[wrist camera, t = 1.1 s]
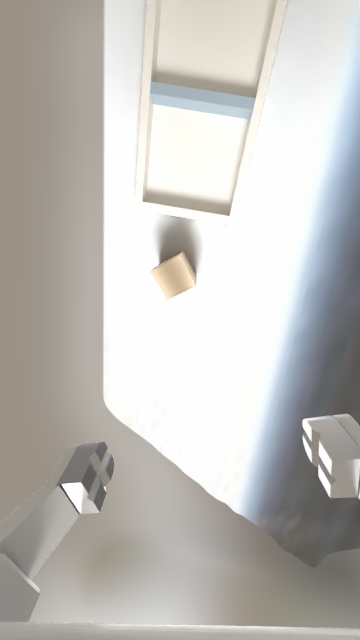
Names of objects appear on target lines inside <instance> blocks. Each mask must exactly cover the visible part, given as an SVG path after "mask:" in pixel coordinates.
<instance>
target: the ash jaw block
mask: <svg viewBox="0 0 360 640" xmlns="http://www.w3.org/2000/svg"><path fill="white" fill-rule="evenodd" d="M151 272H152V274H153V276H154V278H155V279H156V281H157V283H158V285H159V286H160V288H161V290H162V292H163V293H164V295H165V297H166V299H167V300H168V299H170V298H172V297H174V296H176V295H178V294H180V293H182V292H184V291H186V290H188V289H190V288H192V287H194V286H196V274H195V272H194V270H193V268H192V266H191V264H190V262H189V260H188V258H187V256H186V254H185V252H184V251H182V252H180V253H178V254H177V255H175V256H173V257H171V258H170V259H168V260H166V261H164V262H162V263H161V264H159V265H158V266H157V267H155V268H154V269H153V270H152V271H151Z"/></svg>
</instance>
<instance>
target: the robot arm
mask: <svg viewBox="0 0 360 640" xmlns="http://www.w3.org/2000/svg"><path fill="white" fill-rule="evenodd" d="M303 428H304V430H305V433H304V434H303V443H304V446H305V450H306V452H307V455H308V457H309V459H310V461H311V463H312V464H314V465H315V466H316V467H318V468H319V478H320V480H321V482H322V484H323V486H324V487H325V489H326V491H327V493H328V495H329V497H330V498H344V497H359V499H360V425H359V424H358V423H357V422H356V421H355V420H354V419H353V418H352V417H351V416H350V415H348V414H342V415H333V416H323V417H315V418H307V419H303ZM106 450H107V446H106V444H105V443H104V442H100V443H89V444H77V445H70V446H69V447H68V448H67V449H66V450H65V452H64V454H63V455H62V457H61V459H60V460H59V462H58V464H57V465H56V467H55V469H54V470H53V472H52V473H51V475H50V477H49V478H48V480H47V482H46V484H45V485H44V486H43V487H40V488H38V489H37V490H36V491H35V492H34V493H33V494H32V495H31V496H29V497H28V498H27V499H26V500H25V501H24V502H23V503H22V504H21V505H19V506H18V507H17V508H16V509H15V510H14V511H13V512H12V513H11V514H9V515H8V516H7V517H6V518H5V519H4V520H3V521H1V523H0V640H360V628H320V627H318V628H317V627H264V626H210V625H208V626H207V625H205V626H204V625H154V624H100V623H94V624H93V623H45V622H28V621H29V619H30V616H31V614H32V611H33V609H34V607H35V604H36V602H37V600H38V597H39V595H40V590H39V588H38V587H37V586H36V585H35V584H34V583H33V582H32V581H31V579H32V578H33V577H34V575H35V574H36V573H37V571H38V570H39V568H40V567H41V566H42V565H43V563H44V562H45V561H46V560H47V558H48V557H49V556H50V554H51V553H52V552H53V550H54V549H55V548H56V546H57V545H58V544H59V542H60V541H61V540H62V538H63V537H64V536H65V534H66V533H67V532H68V530H69V529H70V528H71V526H72V525H73V524H74V523H75V521H76V520H77V518H78V517H79V514H88V513H97V512H100V510H101V507H102V504H103V501H104V498H105V495H106V489H105V486H106V485H107V483H108V482H109V481H110V480H111V477H112V474H113V468H114V462H113V458H112V456H111V454H109V453H108V452H106Z"/></svg>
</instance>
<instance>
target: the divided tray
mask: <svg viewBox="0 0 360 640" xmlns="http://www.w3.org/2000/svg"><path fill="white" fill-rule="evenodd" d="M287 2H288V0H147V3H146V20H145V37H144V54H143V71H142V88H141V106H140V123H139V140H138V157H137V174H136V191H135V208H134V209H137V210H139V211H144V212H150V213H156V214H162V215H168V216H174V217H180V218H186V219H192V220H198V221H204V222H210V223H216V224H222V225H228V226H235V223H236V219H237V215H238V211H239V206H240V202H241V198H242V194H243V189H244V185H245V181H246V177H247V172H248V168H249V164H250V160H251V155H252V151H253V147H254V143H255V138H256V134H257V130H258V126H259V121H260V117H261V113H262V109H263V104H264V100H265V96H266V92H267V87H268V83H269V79H270V75H271V70H272V66H273V62H274V58H275V53H276V49H277V45H278V41H279V36H280V32H281V28H282V24H283V19H284V15H285V11H286V7H287Z"/></svg>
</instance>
